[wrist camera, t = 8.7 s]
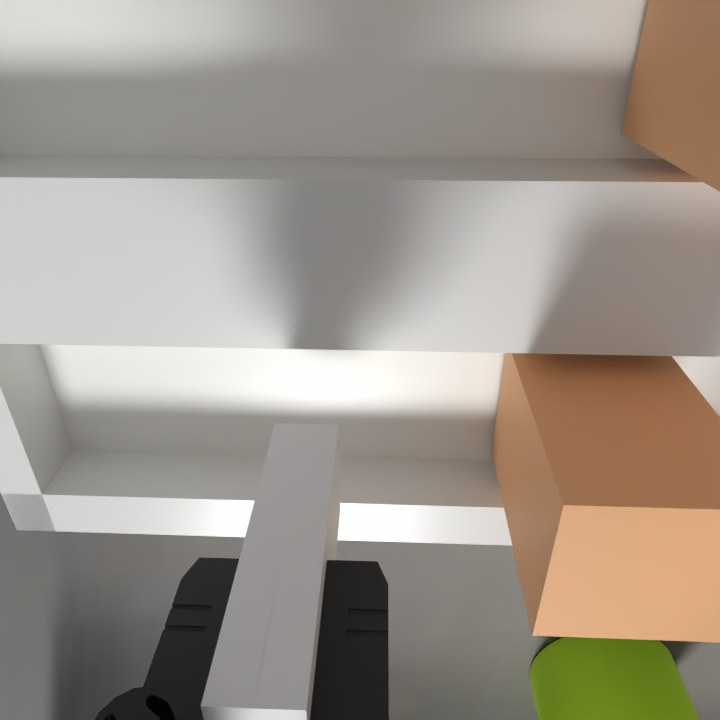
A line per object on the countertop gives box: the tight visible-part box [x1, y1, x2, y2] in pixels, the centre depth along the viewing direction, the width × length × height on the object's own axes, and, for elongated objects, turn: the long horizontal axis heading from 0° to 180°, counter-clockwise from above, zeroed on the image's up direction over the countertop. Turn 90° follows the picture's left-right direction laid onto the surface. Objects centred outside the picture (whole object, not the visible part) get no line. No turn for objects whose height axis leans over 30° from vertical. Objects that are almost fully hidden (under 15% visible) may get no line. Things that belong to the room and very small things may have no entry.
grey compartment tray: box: [0, 0, 720, 545], centre depth 14 cm, size 22×17×3 cm
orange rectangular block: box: [491, 353, 720, 642], centre depth 14 cm, size 4×4×6 cm
